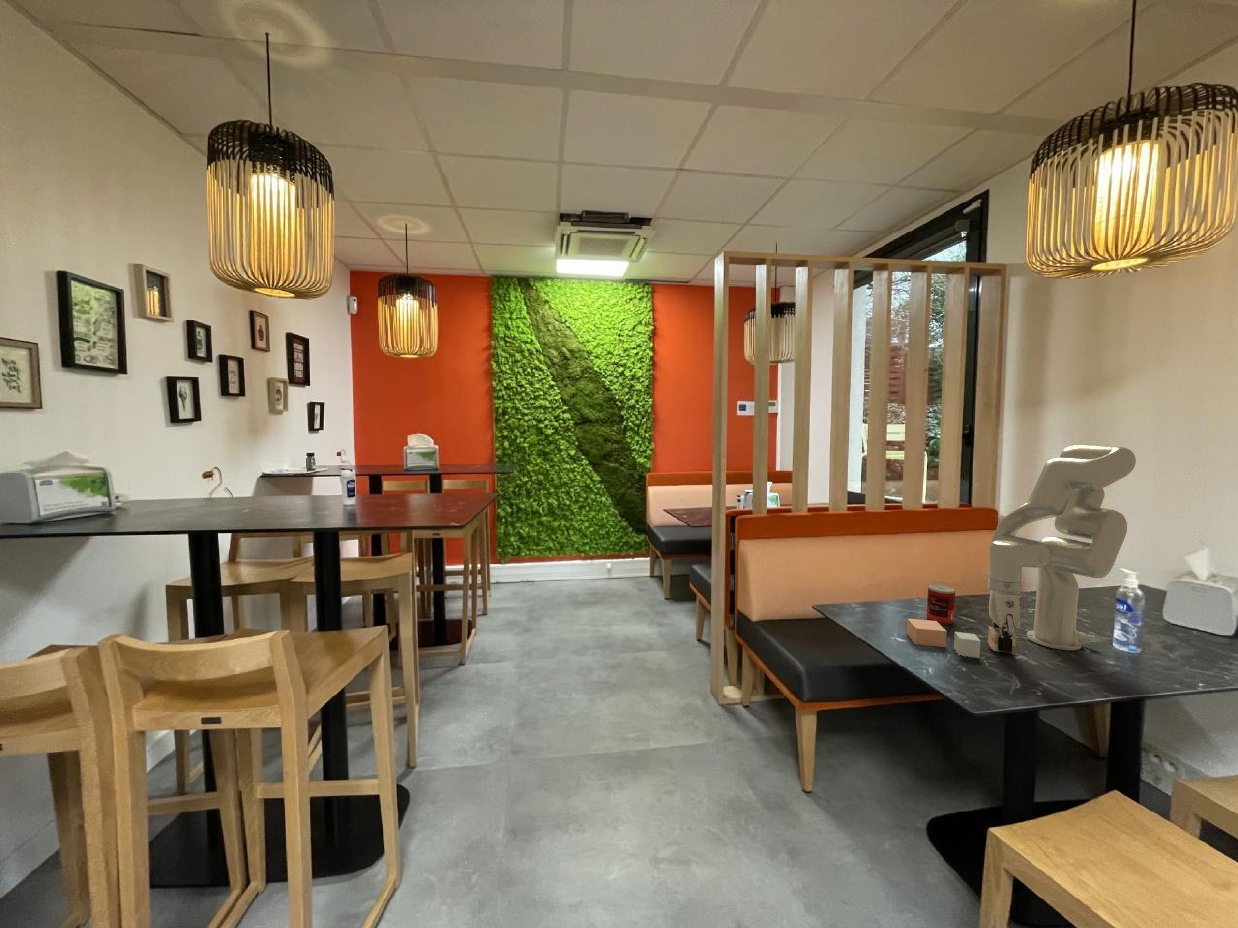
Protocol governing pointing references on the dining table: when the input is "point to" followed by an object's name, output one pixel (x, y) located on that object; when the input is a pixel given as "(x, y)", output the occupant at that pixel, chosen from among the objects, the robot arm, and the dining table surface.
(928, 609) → the canned food
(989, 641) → the maple cube
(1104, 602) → the dining table surface
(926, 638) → the terracotta block
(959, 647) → the pale green-grey cube
